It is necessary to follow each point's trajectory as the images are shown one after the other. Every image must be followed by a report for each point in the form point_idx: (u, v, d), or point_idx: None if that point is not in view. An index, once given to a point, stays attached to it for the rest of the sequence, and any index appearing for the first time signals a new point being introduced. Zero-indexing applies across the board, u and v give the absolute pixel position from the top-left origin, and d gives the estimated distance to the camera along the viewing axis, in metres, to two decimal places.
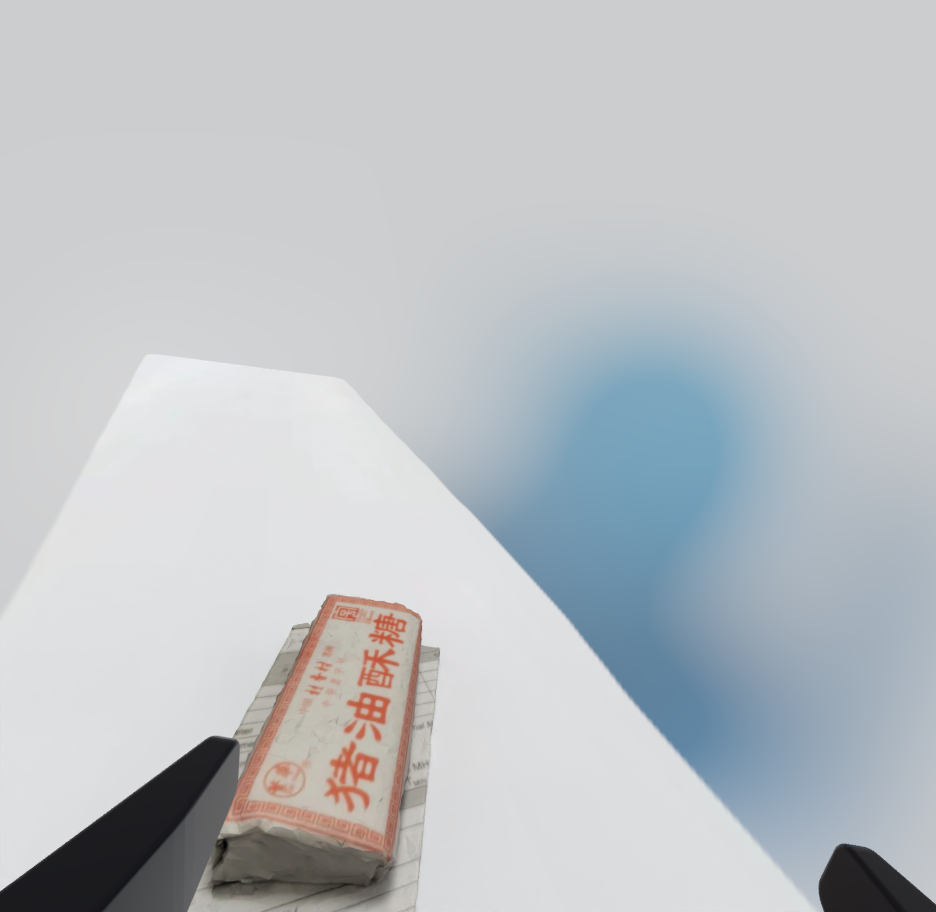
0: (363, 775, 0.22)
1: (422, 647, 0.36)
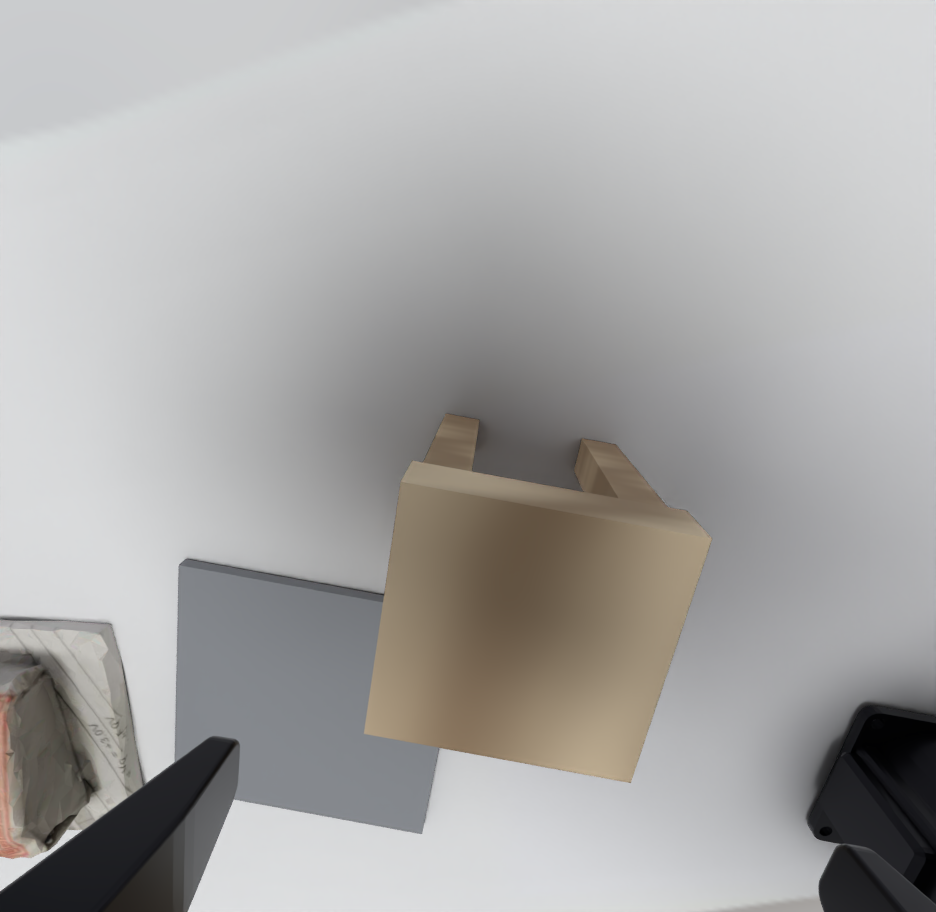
0: None
1: None
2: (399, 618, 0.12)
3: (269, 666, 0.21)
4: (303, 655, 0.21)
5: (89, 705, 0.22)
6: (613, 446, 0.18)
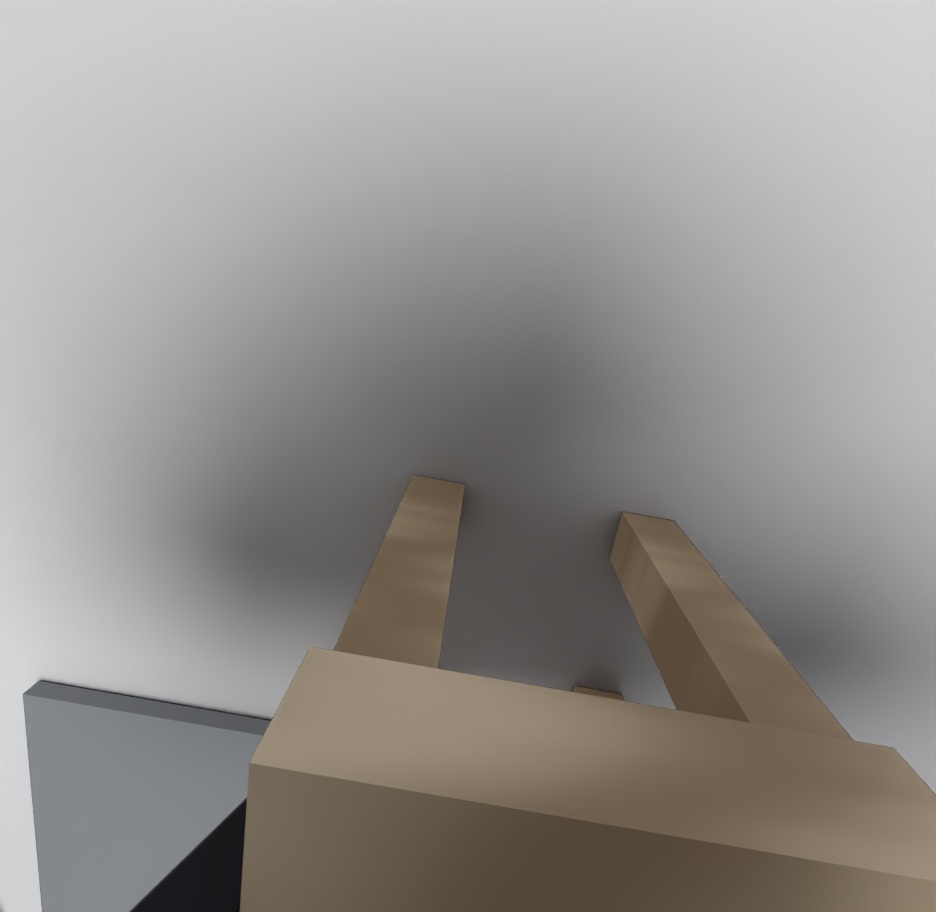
0: None
1: None
2: None
3: (166, 829, 0.15)
4: (214, 815, 0.15)
5: None
6: (672, 525, 0.12)
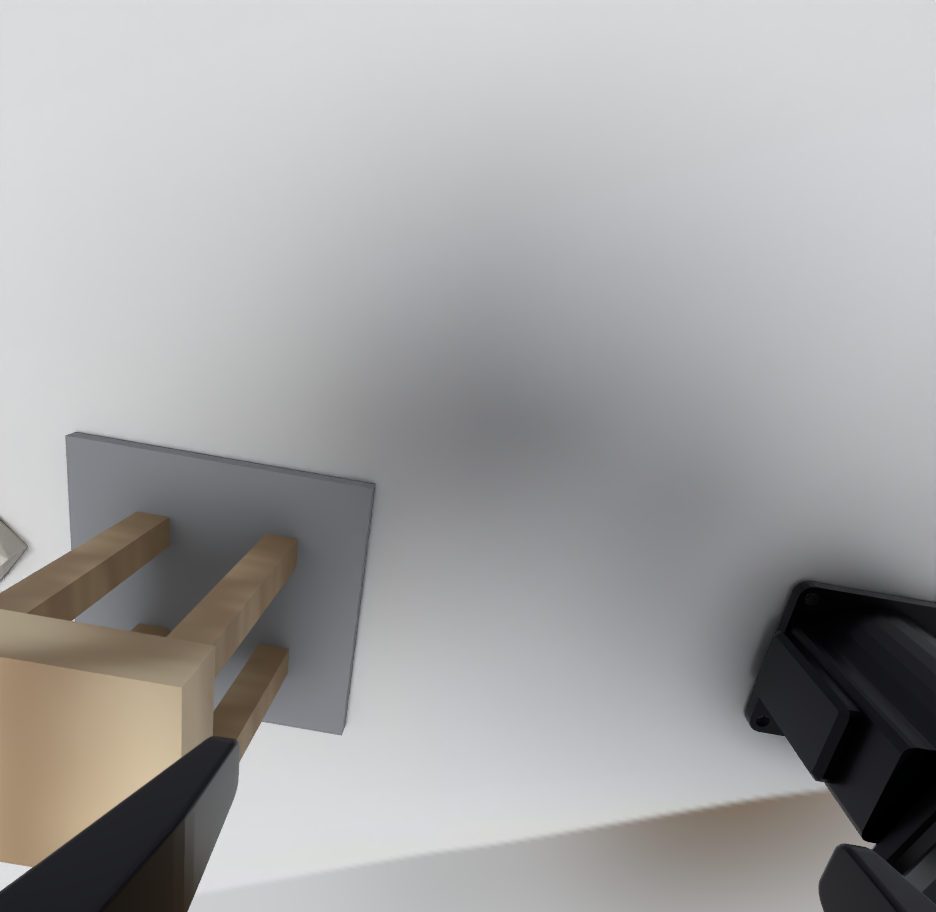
0: None
1: None
2: None
3: (169, 549, 0.20)
4: (204, 536, 0.20)
5: None
6: (290, 542, 0.19)
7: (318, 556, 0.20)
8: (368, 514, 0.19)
